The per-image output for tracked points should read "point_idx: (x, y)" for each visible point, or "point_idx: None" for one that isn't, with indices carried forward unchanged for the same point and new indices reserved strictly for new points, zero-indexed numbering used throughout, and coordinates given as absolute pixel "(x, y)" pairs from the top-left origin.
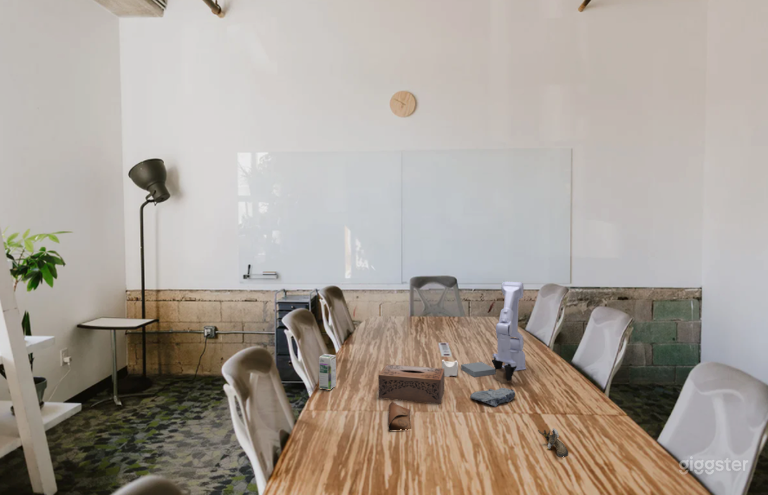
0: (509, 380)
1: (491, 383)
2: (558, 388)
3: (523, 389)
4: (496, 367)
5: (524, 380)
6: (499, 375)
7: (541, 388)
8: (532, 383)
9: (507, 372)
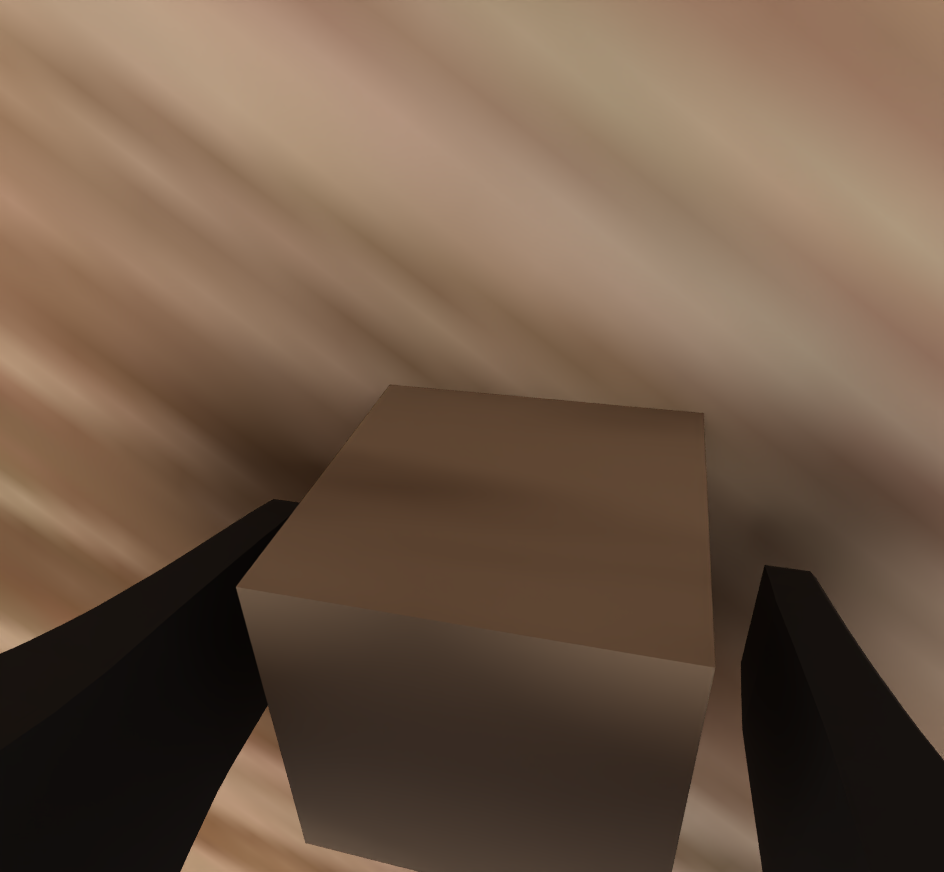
0: None
1: (490, 62)
2: None
3: (13, 506)
4: (833, 806)
5: None
6: (488, 506)
7: None
8: (259, 778)
9: (12, 652)
